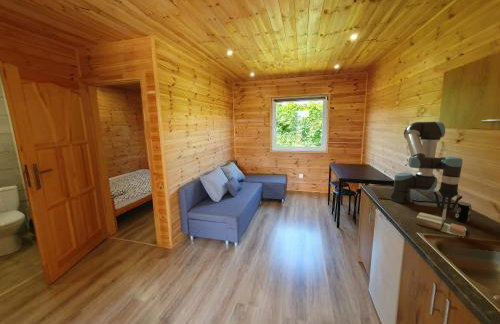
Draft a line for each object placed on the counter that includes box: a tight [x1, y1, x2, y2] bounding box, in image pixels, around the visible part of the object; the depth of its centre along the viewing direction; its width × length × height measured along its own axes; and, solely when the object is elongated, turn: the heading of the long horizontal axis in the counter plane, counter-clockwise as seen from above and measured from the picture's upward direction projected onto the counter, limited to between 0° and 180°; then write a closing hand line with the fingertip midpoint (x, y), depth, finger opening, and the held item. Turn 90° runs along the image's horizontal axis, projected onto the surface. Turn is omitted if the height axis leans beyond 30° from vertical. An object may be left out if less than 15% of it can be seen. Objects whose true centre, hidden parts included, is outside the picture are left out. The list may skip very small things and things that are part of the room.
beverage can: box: [454, 201, 472, 224], centre depth 135 cm, size 7×7×12 cm
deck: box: [414, 211, 445, 231], centre depth 133 cm, size 12×12×4 cm
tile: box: [449, 223, 466, 235], centre depth 123 cm, size 9×6×2 cm, turn 131°
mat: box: [440, 222, 467, 237], centre depth 124 cm, size 14×10×1 cm
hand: (443, 219), depth 127 cm, fingers closed
